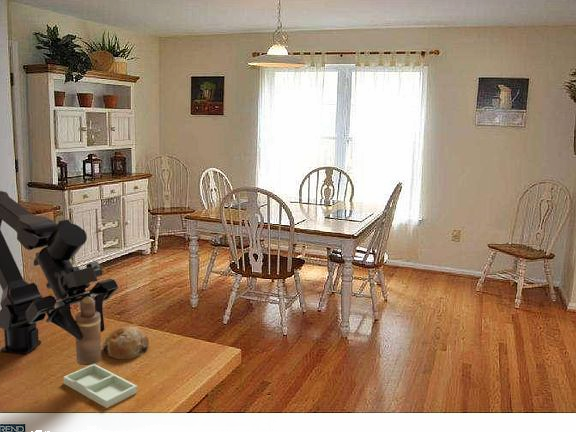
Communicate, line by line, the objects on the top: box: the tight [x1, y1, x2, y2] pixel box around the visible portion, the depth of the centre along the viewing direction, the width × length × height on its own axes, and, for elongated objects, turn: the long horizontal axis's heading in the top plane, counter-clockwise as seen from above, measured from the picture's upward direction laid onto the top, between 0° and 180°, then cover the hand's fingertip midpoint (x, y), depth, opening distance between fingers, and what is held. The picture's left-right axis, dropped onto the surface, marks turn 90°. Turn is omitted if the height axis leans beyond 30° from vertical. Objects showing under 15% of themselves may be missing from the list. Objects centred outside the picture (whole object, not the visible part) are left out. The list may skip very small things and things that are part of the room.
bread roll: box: [101, 325, 150, 360], centre depth 126 cm, size 10×10×8 cm
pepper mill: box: [74, 296, 102, 366], centre depth 109 cm, size 5×5×14 cm
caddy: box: [63, 363, 138, 409], centre depth 109 cm, size 14×7×2 cm, turn 55°
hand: (92, 334), depth 108 cm, fingers closed on pepper mill, 5 cm apart
